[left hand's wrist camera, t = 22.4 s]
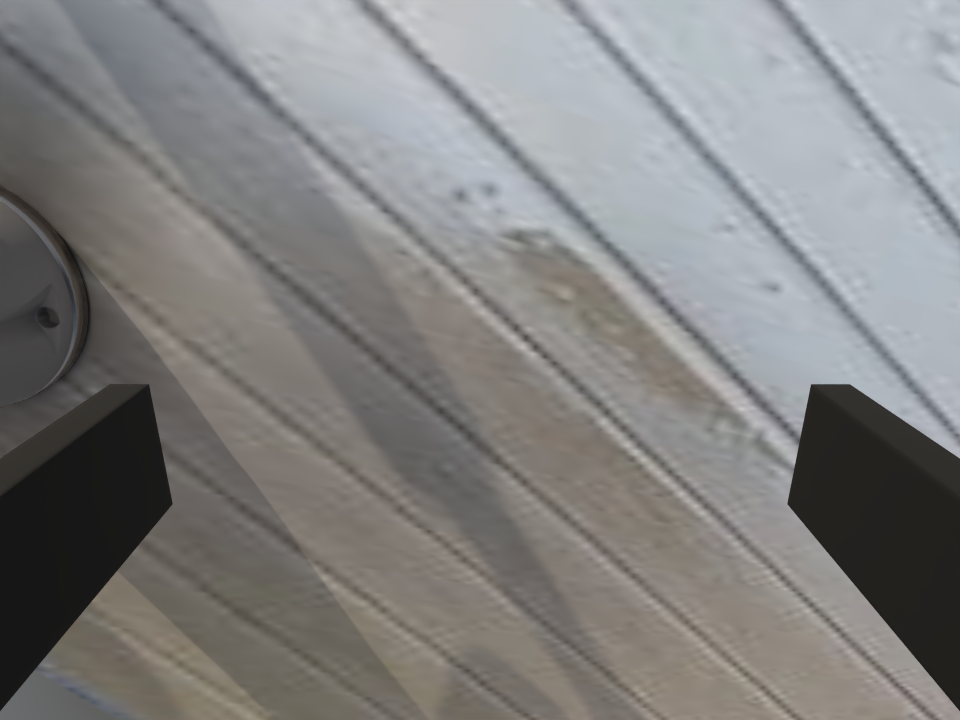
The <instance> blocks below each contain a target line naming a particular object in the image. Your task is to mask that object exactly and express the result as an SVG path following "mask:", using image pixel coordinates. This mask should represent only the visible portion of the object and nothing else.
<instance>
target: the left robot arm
mask: <svg viewBox="0 0 960 720" xmlns="http://www.w3.org/2000/svg"><path fill="white" fill-rule="evenodd" d="M87 327H88V303H87V296H86V291H85V287H84V283H83V280H82V277H81V274H80V272H79V269H78V267H77V265H76V263H75V261H74V259H73V257H72V255H71V253H70V251H69V250H68V248H67V246H66V245H65V243H64V242H63V240H62V239H61V238H60V236H59V235H58V234H57V232H56V231H55V230H54V229H53V228H52V227H51V225H50V224H49V223H48V222H47V221H46V220H45V219H44V218H43V217H42V216H41V215H40V214H39V213H38V212H37V211H36V210H34V209H33V208H32V207H31V206H30V205H29V204H27V203H26V202H25V201H23V200H22V199H20V198H19V197H18V196H16V195H15V194H13V193H11V192H10V191H8V190H6V189H5V188H3V187H1V186H0V407H3V406H6V405H10V404H14V403H17V402H20V401H23V400H25V399H28V398H29V397H31V396H33V395H35V394H37V393H39V392H40V391H42V390H44V389H45V388H47V387H49V386H51V385H52V384H53V383H55V382H56V381H58V380H59V379H60V378H61V377H62V376H64V375H65V374H66V373H67V371H68V370H69V369H70V368H71V367H72V366H73V364H74V363H75V361H76V360H77V358H78V356H79V354H80V352H81V350H82V347H83V344H84V342H85V338H86V333H87ZM171 505H172V499H171V493H170V488H169V483H168V478H167V473H166V468H165V463H164V458H163V453H162V448H161V443H160V438H159V433H158V428H157V423H156V418H155V413H154V408H153V403H152V398H151V393H150V388H149V384H110V385H109V386H107V387H106V388H104V389H103V390H101V391H100V392H98V393H97V394H95V395H94V396H92V397H91V398H89V399H88V400H86V401H85V402H83V403H82V404H80V405H79V406H78V407H76V408H75V409H73V410H72V411H70V412H69V413H67V414H66V415H64V416H63V417H61V418H60V419H58V420H57V421H55V422H54V423H52V424H51V425H49V426H48V427H46V428H45V429H43V430H42V431H40V432H39V433H37V434H36V435H35V436H33V437H32V438H30V439H29V440H27V441H26V442H24V443H23V444H21V445H20V446H18V447H17V448H15V449H14V450H12V451H11V452H9V453H8V454H6V455H5V456H3V457H2V458H0V711H1V709H2V708H3V707H4V706H5V705H6V703H7V702H8V701H9V700H10V699H11V697H12V696H13V695H14V694H15V693H16V691H17V690H18V689H19V688H20V687H21V685H22V684H23V683H24V682H25V681H26V679H27V678H28V677H29V676H30V675H31V673H32V672H33V671H34V670H35V669H36V667H37V666H38V665H39V664H40V663H41V661H42V660H43V659H44V658H45V657H46V655H47V654H48V653H49V652H50V651H51V649H52V648H53V647H54V646H55V645H56V643H57V642H58V641H59V640H60V639H61V637H62V636H63V635H64V634H65V633H66V631H67V630H68V629H69V628H70V627H71V625H72V624H73V623H74V622H75V621H76V619H77V618H78V617H79V616H80V615H81V613H82V612H83V611H84V610H85V609H86V607H87V606H88V605H89V604H90V603H91V601H92V600H93V599H94V598H95V597H96V595H97V594H98V593H99V592H100V591H101V589H102V588H103V587H104V586H105V585H106V583H107V582H108V581H109V580H110V579H111V577H112V576H113V575H114V574H115V573H116V571H117V570H118V569H119V568H120V567H121V565H122V564H123V563H124V562H125V561H126V559H127V558H128V557H129V556H130V555H131V553H132V552H133V551H134V550H135V549H136V547H137V546H138V545H139V544H140V543H141V541H142V540H143V539H144V538H145V537H146V535H147V534H148V533H149V532H150V531H151V529H152V528H153V527H154V526H155V525H156V523H157V522H158V521H159V520H160V519H161V517H162V516H163V515H164V514H165V513H166V511H167V510H168V509H169V508H170V507H171ZM788 505H789V507H790V508H791V509H792V510H793V511H794V513H795V514H796V515H797V516H798V517H799V519H800V520H801V521H802V522H803V523H804V525H805V526H806V527H807V528H808V529H809V531H810V532H811V533H812V534H813V535H814V537H815V538H816V539H817V540H818V541H819V543H820V544H821V545H822V546H823V547H824V549H825V550H826V551H827V552H828V553H829V555H830V556H831V557H832V558H833V559H834V561H835V562H836V563H837V564H838V565H839V567H840V568H841V569H842V570H843V571H844V573H845V574H846V575H847V576H848V577H849V579H850V580H851V581H852V582H853V583H854V585H855V586H856V587H857V588H858V589H859V591H860V592H861V593H862V594H863V595H864V597H865V598H866V599H867V600H868V601H869V603H870V604H871V605H872V606H873V607H874V609H875V610H876V611H877V612H878V613H879V615H880V616H881V617H882V618H883V619H884V621H885V622H886V623H887V624H888V625H889V627H890V628H891V629H892V630H893V631H894V633H895V634H896V635H897V636H898V637H899V639H900V640H901V641H902V642H903V643H904V645H905V646H906V647H907V648H908V649H909V651H910V652H911V653H912V654H913V655H914V657H915V658H916V659H917V660H918V661H919V663H920V664H921V665H922V666H923V667H924V669H925V670H926V671H927V672H928V673H929V675H930V676H931V677H932V678H933V679H934V681H935V682H936V683H937V684H938V685H939V687H940V688H941V689H942V690H943V691H944V693H945V694H946V695H947V696H948V697H949V699H950V700H951V701H952V702H953V703H954V705H955V706H956V707H957V708H958V709H959V711H960V458H958V457H957V456H955V455H954V454H952V453H951V452H949V451H948V450H946V449H945V448H943V447H942V446H940V445H939V444H937V443H936V442H934V441H933V440H931V439H930V438H928V437H927V436H925V435H924V434H923V433H921V432H920V431H918V430H917V429H915V428H914V427H912V426H911V425H909V424H908V423H906V422H905V421H903V420H902V419H900V418H899V417H897V416H896V415H894V414H893V413H891V412H890V411H888V410H887V409H885V408H884V407H882V406H881V405H880V404H878V403H877V402H875V401H874V400H872V399H871V398H869V397H868V396H866V395H865V394H863V393H862V392H860V391H859V390H857V389H856V388H854V387H853V386H851V385H850V384H811V388H810V393H809V398H808V403H807V408H806V413H805V418H804V423H803V428H802V433H801V438H800V443H799V448H798V453H797V458H796V463H795V468H794V473H793V478H792V483H791V488H790V493H789V499H788Z"/></svg>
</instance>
